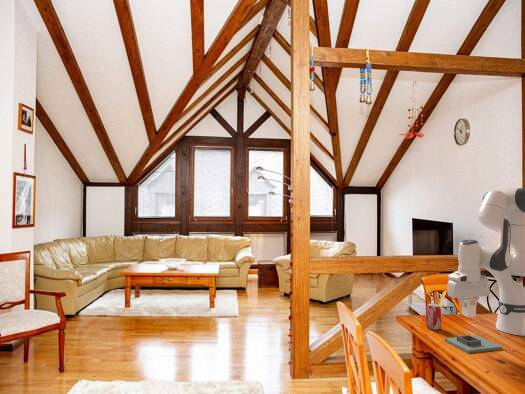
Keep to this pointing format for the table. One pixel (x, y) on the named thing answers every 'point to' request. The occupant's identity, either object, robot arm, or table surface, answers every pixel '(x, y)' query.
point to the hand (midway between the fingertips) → (468, 306)
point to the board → (472, 343)
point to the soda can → (433, 316)
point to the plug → (469, 307)
